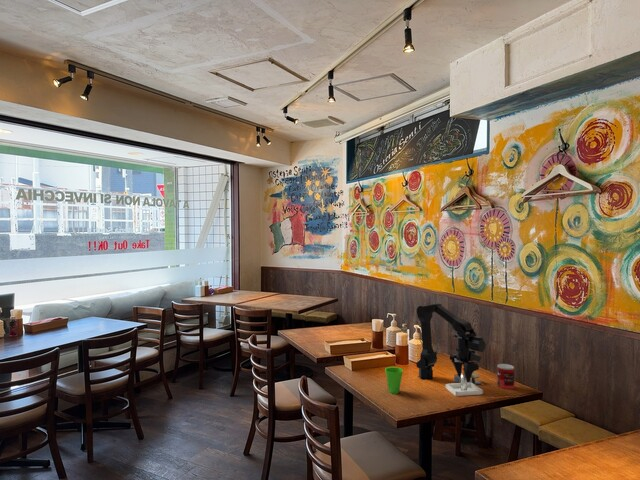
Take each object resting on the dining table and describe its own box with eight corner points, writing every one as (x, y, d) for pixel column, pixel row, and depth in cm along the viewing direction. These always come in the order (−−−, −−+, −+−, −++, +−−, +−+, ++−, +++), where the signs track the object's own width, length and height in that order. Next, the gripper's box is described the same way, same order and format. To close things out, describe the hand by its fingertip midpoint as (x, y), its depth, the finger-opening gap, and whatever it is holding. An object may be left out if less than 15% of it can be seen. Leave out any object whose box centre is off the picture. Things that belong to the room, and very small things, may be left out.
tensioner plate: (460, 387, 209) (460, 377, 209) (452, 381, 218) (452, 372, 218) (484, 385, 211) (484, 376, 211) (475, 379, 220) (475, 370, 220)
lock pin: (462, 392, 201) (462, 374, 201) (459, 389, 204) (459, 372, 204) (468, 391, 201) (468, 374, 201) (465, 389, 204) (465, 372, 204)
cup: (392, 396, 197) (392, 373, 197) (381, 390, 205) (381, 368, 205) (407, 393, 201) (407, 370, 201) (395, 387, 209) (395, 365, 209)
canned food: (500, 383, 214) (500, 362, 214) (516, 387, 208) (516, 366, 208) (494, 387, 208) (494, 366, 208) (511, 391, 203) (511, 369, 203)
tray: (455, 397, 196) (455, 391, 196) (445, 388, 207) (445, 383, 207) (483, 395, 198) (483, 390, 198) (471, 387, 209) (471, 382, 209)
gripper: (489, 351, 194) (489, 384, 194) (469, 342, 213) (469, 372, 213) (467, 352, 193) (467, 386, 193) (449, 342, 211) (449, 373, 211)
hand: (463, 378), depth 202 cm, fingers open, 8 cm apart
